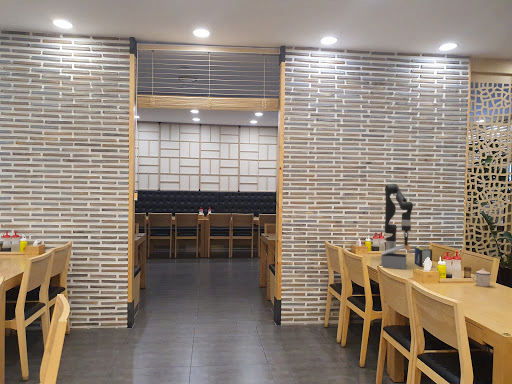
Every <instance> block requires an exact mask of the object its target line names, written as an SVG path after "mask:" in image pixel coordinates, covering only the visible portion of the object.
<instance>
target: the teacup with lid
mask: <svg viewBox="0 0 512 384" xmlns="http://www.w3.org/2000/svg"><path fill="white" fill-rule="evenodd" d="M471 279H472V281H474V282H475V285H476V286H479V287H487V288H488V287H490V286H491V272H489V271H487V270H486V269H485V268H481V269H480V270H477V271H475V274H473V275H472V277H471Z"/></svg>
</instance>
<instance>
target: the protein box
mask: <svg viewBox="0 0 512 384" xmlns="http://www.w3.org/2000/svg"><path fill="white" fill-rule="evenodd" d="M427 257H429V258H430V260H431V261H432V262H433V249H432V248H429V247H426V246H425V247H424V246H415V247H414V265H416V266H417V267H418V268H419V267H420V268H424V267H423V263H424V261H425V259H426V258H427Z"/></svg>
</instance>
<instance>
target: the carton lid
mask: <svg viewBox="0 0 512 384" xmlns="http://www.w3.org/2000/svg"><path fill="white" fill-rule="evenodd" d="M402 242H403V244H401V245H397V246H396V247H395V248H392V249H389V250H386V249H385V250H383V251H381V254H380V256H382V255H384V254H387V253H390V252H394V251H399V250H403V249H406V251H407V252H408V251H411V250H412V249H411V247H410V244H409V241H408V242H407V245H405V241H404V240H403V241H402Z"/></svg>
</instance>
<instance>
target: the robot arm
mask: <svg viewBox="0 0 512 384" xmlns="http://www.w3.org/2000/svg"><path fill="white" fill-rule="evenodd" d="M384 192H385V206H384V207H385V210H384V211H385V212H384V213H385V214H384V215H385V216H384V217H385V220H384V221H385V222H384V233H385V234H390V236H387V237H386V238H385V251H386V250H389V249H392V248H395V247H397V229H398V228H397V227H398V226H397V224H395V223H390V222H391V220H392V218H394V216H395V215H396V213H397V212H396V209H397V208H396V207H397V206H396V204H395V202H394V201H393V200H392V198H391V195H394V194H396V196H395V200H396V202H397V203H398V206H399V209H400V210H402V211H405V212H402V213H401V231H403V239H404V240H403V241H405V245H407V242H408V243H409V232H410V231H412V220H411V217H412V216H411V215H412V212H413V207H414V205H413V202H412V201H407V198H406V197H405V196H404V195H403V193H402V191H401V189H400V187H399V186H398V184H397V183H390V184H385V188H384ZM391 234H392V235H391ZM390 253H395V254H397V252H396V251H394V252H390Z"/></svg>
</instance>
